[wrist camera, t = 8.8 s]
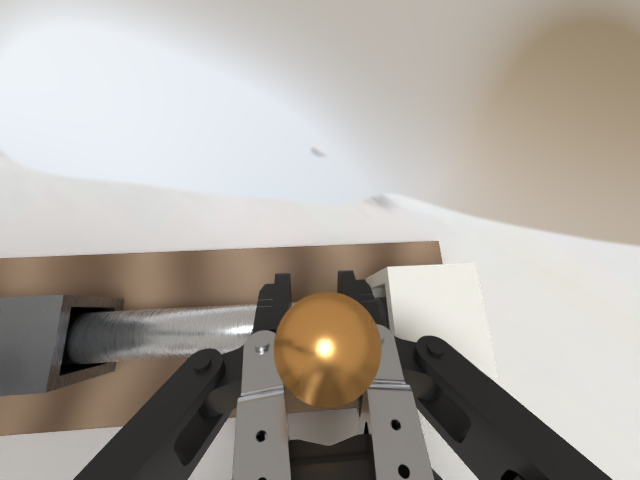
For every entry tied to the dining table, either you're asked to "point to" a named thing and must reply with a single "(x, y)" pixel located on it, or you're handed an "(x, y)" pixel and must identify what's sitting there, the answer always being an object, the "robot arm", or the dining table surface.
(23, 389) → the outer sleeve
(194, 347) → the sliding bolt
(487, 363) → the socket
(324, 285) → the base board
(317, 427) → the dining table surface
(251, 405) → the robot arm
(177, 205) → the dining table surface
